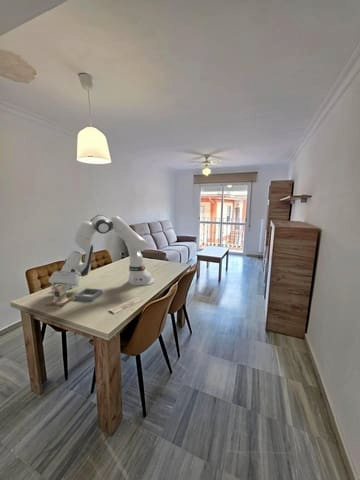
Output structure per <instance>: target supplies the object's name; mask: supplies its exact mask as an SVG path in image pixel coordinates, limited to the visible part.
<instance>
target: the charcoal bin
mask: <svg viewBox="0 0 360 480" xmlns="http://www.w3.org/2000/svg"><path fill="white" fill-rule="evenodd" d="M86 294H93V295H92V296H90V295H86ZM102 294H103V288H101V289H100V288H89V287H88V288H87V287H86V288H84V289H82V290H81V291H80V292H78V293H77V294H75V295H74V300H76V301H86V302H94V301H96V299H98V298H99V297H100V296H101V295H102Z"/></svg>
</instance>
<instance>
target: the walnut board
mask: <svg viewBox="0 0 360 480" xmlns="http://www.w3.org/2000/svg"><path fill="white" fill-rule="evenodd" d="M73 300H75V296H66V299H65V300H64V301H62V302H54V298H53V299H51V300H49V301H48V302H46V303H45V304H44V305H46V306H51V307H52V306H53V307H64V306H65V305H67V304H68V303H70V302H71V301H73Z"/></svg>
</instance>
